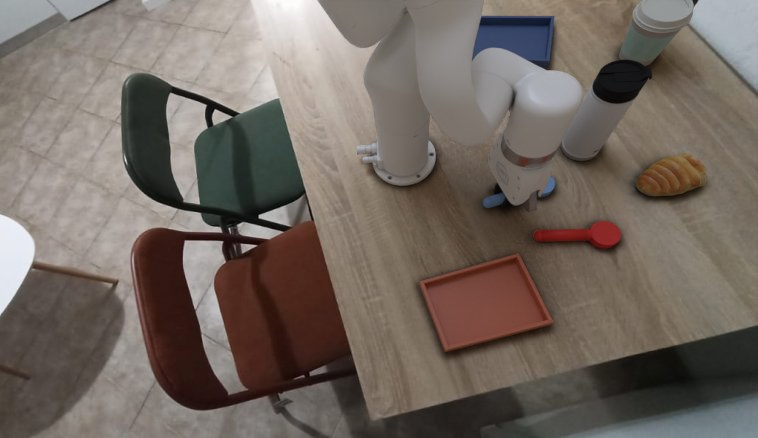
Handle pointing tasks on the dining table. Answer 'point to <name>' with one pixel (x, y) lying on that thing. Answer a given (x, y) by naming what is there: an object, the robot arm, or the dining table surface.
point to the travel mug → (604, 107)
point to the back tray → (517, 36)
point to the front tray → (484, 303)
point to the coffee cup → (654, 28)
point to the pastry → (672, 176)
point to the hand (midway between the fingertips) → (506, 197)
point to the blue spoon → (501, 196)
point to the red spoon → (584, 234)
